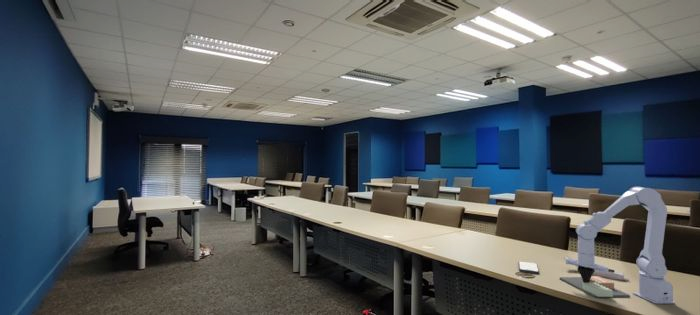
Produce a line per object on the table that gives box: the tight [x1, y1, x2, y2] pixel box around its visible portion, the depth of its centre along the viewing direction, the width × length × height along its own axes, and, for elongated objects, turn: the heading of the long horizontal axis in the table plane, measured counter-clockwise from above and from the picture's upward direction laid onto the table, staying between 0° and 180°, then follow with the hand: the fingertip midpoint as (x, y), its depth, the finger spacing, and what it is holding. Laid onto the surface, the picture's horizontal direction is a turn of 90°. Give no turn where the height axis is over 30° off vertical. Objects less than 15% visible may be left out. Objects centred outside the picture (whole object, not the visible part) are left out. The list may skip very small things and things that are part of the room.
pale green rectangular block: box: [582, 283, 614, 298], centre depth 128 cm, size 8×6×3 cm
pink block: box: [589, 275, 615, 289], centre depth 136 cm, size 8×7×3 cm
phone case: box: [518, 261, 540, 275], centre depth 161 cm, size 9×2×16 cm
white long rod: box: [563, 255, 630, 282], centre depth 153 cm, size 6×6×25 cm
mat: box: [559, 276, 631, 298], centre depth 136 cm, size 20×14×1 cm
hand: (586, 285), depth 134 cm, fingers closed
